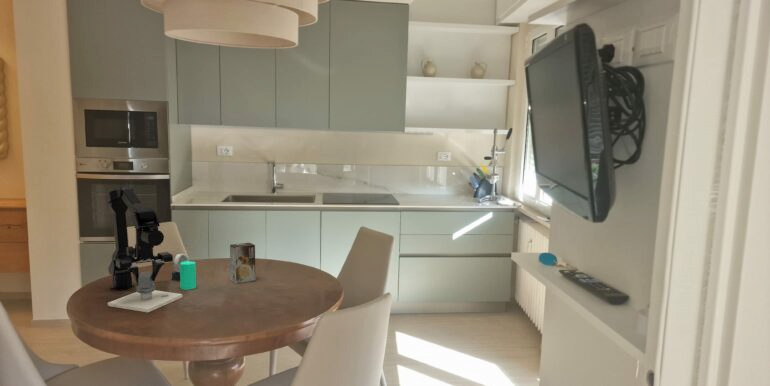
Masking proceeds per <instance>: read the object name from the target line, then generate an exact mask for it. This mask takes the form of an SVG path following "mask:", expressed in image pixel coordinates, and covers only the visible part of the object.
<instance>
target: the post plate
mask: <svg viewBox="0 0 770 386" xmlns="http://www.w3.org/2000/svg"><path fill="white" fill-rule="evenodd" d="M181 298H183V294H182V293H177V292H170V291H162V290H156V289H155V291H153V292H149V293H138V292H137V291H136V292H132V293H129V294H128V295H125V296H121V297H120V298H117V299H114V300H112V301H108V302H107V306H108V307H113V308H117V309H125V310H131V311H136V312H143V313H150V312H152V311H154V310H157V309H158V308H159V309H160V308H161V307H163V306H165V305H169V304H171V303H172V302H174V301H177V300H179V299H181Z"/></svg>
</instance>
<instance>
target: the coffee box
mask: <svg viewBox="0 0 770 386" xmlns="http://www.w3.org/2000/svg"><path fill="white" fill-rule="evenodd" d="M229 258H230V259H229V261H230V263H229V264H230V265H229V266H230V267H229V268H230V269H229V270H230V281H231V282H232V283H234V284H235V285H237V284H241V283H248V282H253V281H256V280H257V278H256V276H257V275H256V274H257V273H256V244H254V243H252V242H241V243H235V244H234V243H233V244H229Z"/></svg>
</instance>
